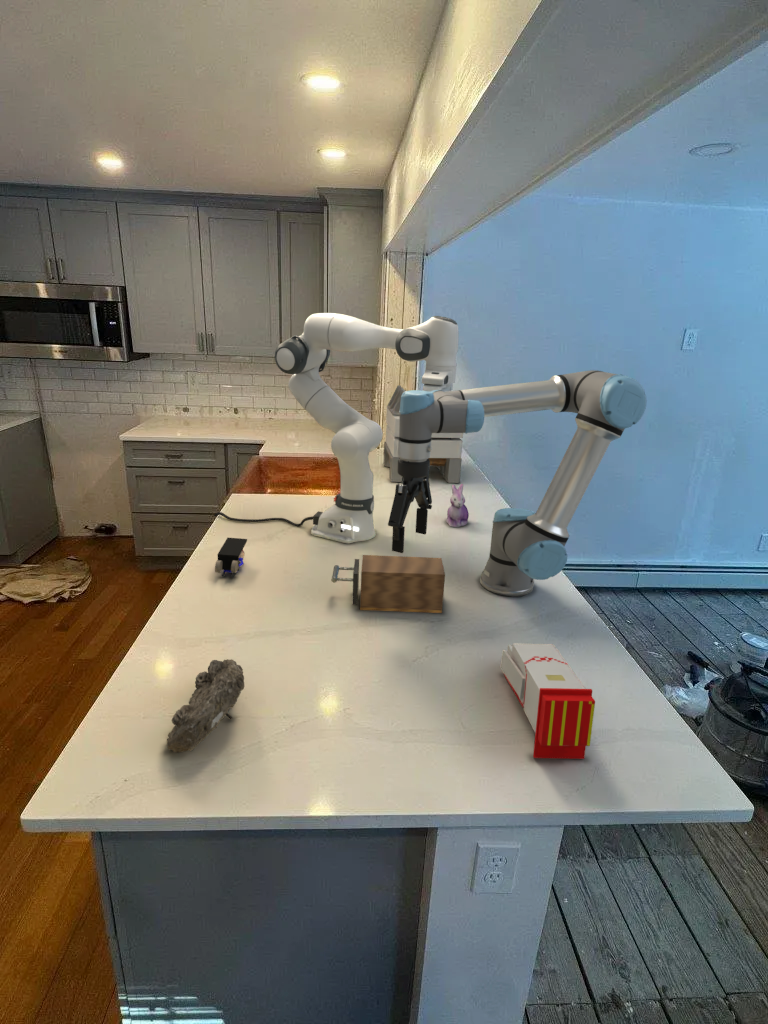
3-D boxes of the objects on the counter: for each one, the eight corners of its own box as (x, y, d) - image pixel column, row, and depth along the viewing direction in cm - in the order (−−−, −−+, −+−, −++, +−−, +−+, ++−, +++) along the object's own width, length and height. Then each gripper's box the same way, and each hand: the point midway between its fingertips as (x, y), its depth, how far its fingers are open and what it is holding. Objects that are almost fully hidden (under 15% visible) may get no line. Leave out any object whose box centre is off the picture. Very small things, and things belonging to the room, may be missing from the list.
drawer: (330, 604, 149) (331, 572, 146) (333, 588, 157) (334, 558, 154) (428, 607, 149) (431, 576, 146) (426, 591, 158) (428, 561, 155)
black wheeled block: (238, 584, 162) (249, 557, 175) (236, 562, 158) (247, 536, 172) (215, 584, 161) (227, 556, 175) (212, 561, 158) (225, 535, 171)
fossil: (192, 660, 117) (244, 628, 112) (224, 691, 120) (276, 661, 115) (142, 746, 98) (202, 712, 93) (182, 779, 101) (242, 748, 96)
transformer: (382, 463, 289) (386, 382, 275) (445, 464, 293) (451, 384, 279) (390, 482, 257) (394, 392, 243) (460, 483, 261) (468, 394, 247)
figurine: (454, 529, 206) (457, 490, 201) (439, 520, 214) (442, 482, 209) (475, 526, 210) (479, 487, 205) (459, 517, 218) (463, 479, 213)
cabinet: (360, 609, 149) (361, 571, 145) (361, 591, 158) (362, 554, 155) (441, 613, 149) (445, 574, 145) (438, 594, 159) (441, 557, 155)
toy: (549, 626, 126) (605, 697, 97) (544, 681, 129) (596, 766, 100) (495, 625, 126) (534, 696, 96) (491, 680, 128) (528, 765, 99)
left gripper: (439, 371, 175) (435, 416, 179) (419, 377, 156) (416, 427, 161) (459, 373, 173) (455, 418, 177) (442, 379, 155) (437, 430, 159)
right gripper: (405, 473, 120) (401, 563, 128) (448, 449, 141) (442, 528, 149) (374, 467, 124) (372, 556, 131) (420, 445, 145) (416, 523, 152)
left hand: (436, 422), depth 169 cm, fingers open, 8 cm apart
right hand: (409, 542), depth 140 cm, fingers open, 13 cm apart
